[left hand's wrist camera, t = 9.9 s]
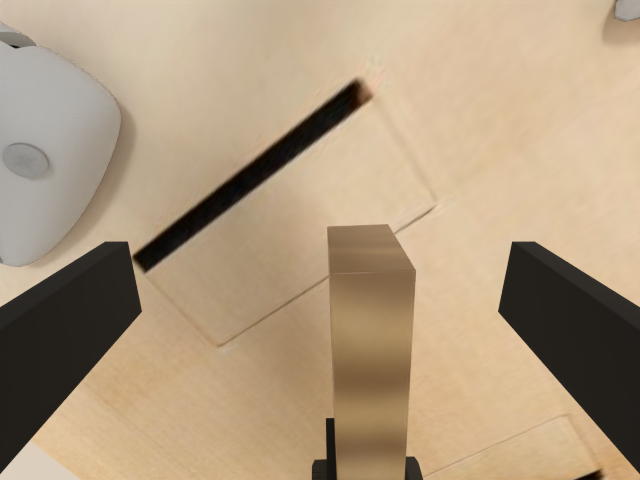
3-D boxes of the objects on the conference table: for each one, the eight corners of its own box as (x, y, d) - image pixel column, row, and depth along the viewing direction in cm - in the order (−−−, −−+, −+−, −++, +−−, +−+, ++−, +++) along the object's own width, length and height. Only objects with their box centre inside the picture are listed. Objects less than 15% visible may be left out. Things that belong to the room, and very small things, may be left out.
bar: (327, 226, 26) (329, 273, 18) (388, 224, 26) (416, 269, 18) (335, 453, 33) (339, 552, 26) (382, 452, 33) (400, 551, 26)
